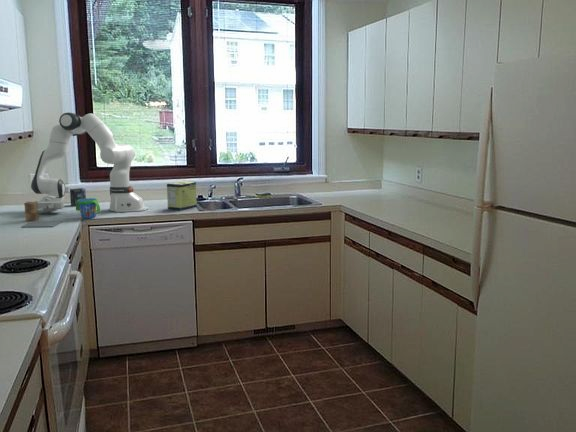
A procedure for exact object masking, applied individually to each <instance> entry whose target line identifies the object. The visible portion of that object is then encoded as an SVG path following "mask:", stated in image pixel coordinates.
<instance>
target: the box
mask: <svg viewBox="0 0 576 432" xmlns="http://www.w3.org/2000/svg"><path fill="white" fill-rule="evenodd" d="M69 196H70V206H72V207H74V208H76V203H77V200H80V199H87V195H86V188H82V187H80V188H79V187H77V188H70V189H69Z"/></svg>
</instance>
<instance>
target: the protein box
mask: <svg viewBox="0 0 576 432" xmlns="http://www.w3.org/2000/svg"><path fill="white" fill-rule="evenodd" d="M166 192H167V194H166V195H167V196H166V198H167V199H166V200H167V210H175V211H184V210H188V209H193V208H197V205H198V204H197V182H196V181H183V180H181V181H176V182H170V183H166Z"/></svg>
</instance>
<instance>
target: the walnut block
mask: <svg viewBox="0 0 576 432" xmlns="http://www.w3.org/2000/svg"><path fill="white" fill-rule="evenodd" d="M23 204H24V212H25V213H24V215H25V222H27V223H28V222H32V221H40V215H39V209H38V202H30V201H26V202H24V203H23Z"/></svg>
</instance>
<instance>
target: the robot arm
mask: <svg viewBox="0 0 576 432" xmlns="http://www.w3.org/2000/svg"><path fill="white" fill-rule="evenodd" d="M58 123H59V124H56V125H54V126H53V127H52V128H51V131H50V135H49V141H48V145H47V147H46V149H45V150H43V151H42V152H41V154H40V156H39V160H38V163H37V166H36V169H35V173H34V176H33V178H32V181H31V184H30V187H31V190H32V192H34V193H35V194H36V195H40V194H41V195H42V194H45V196H42V198H41V199H40V200H31V201H29V202H38V210H43V211H46V212H52V211H55V210H63V209H65V203H64V202H65V194H66V184H65V182H64V181H63V180H62V179H61V178H51V177H50V178H49V177H44V175H45V173H46V168H47V165H48V164H49V163H50V162H52V161H55V160H58V159H62V158H64V157H65V156H67V154H68V152H69V146H70V138H71V136H73V137H75V136H80V135H81V136H82V135H85V134H86V133H87V134H88V135H89V136H90V138H92V140H93V141H94V142H95V143H96V145H97V147H99V151H100V153H99V156H100V159H101V160H102V162H104V163H105V164H108V165H109V164H110V165H113V167H112V169H111V170H110V173H109V196H110V202H109V203H110V204H109V208H108V210H109V211H110V212H115V213H122V212H123V213H124V212H127V213H128V212H143V211H146V210H148V206H147V205H145V203H144V199H143V197H141V196H139V195H138V194H137V193H136V192H134V186H131V185H130V184H131V183H130V170H131V166H132V162H133V160H134V158H135V156H136V151H135V148H134V146H132V145H129V144H125V143H121V144H119V143H118V144H117V143H116V141H115V139H114V133H113V132H112V131H111V129H110V128H109V127H108V126H107V124H105V123H104V122H103V120H102V119H101V118H99V117H98V116H97V115H96V114H95V113H92V112H91V113H87V114H85V115H83V116H80V115H79V114H76V113H73V112H65V113H62V114H61V115H60V117H59V119H58Z"/></svg>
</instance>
